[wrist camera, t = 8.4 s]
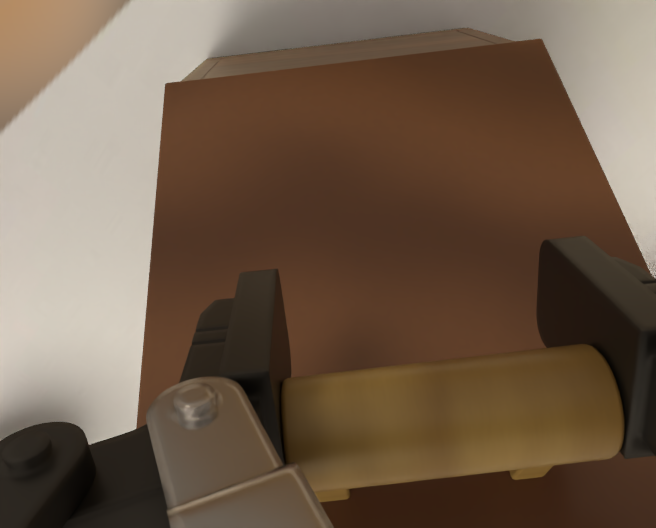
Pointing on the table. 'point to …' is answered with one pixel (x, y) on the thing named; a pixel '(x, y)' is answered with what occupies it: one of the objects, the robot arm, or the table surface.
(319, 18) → the table surface
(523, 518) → the lid
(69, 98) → the table surface
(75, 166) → the table surface
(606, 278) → the robot arm
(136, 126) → the table surface
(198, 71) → the chest
